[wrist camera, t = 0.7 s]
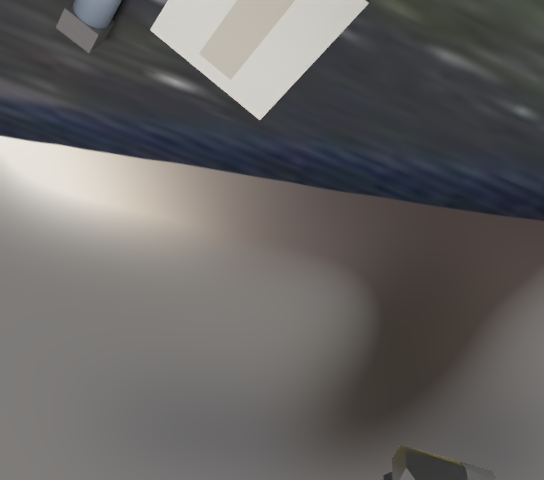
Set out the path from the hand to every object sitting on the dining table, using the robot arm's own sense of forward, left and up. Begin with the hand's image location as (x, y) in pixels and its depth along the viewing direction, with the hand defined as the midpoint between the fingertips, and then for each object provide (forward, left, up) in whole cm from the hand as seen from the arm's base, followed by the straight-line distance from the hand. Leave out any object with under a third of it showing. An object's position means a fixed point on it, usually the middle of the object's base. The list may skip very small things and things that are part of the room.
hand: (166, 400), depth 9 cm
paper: (+12, -2, -43) cm, 45 cm away
